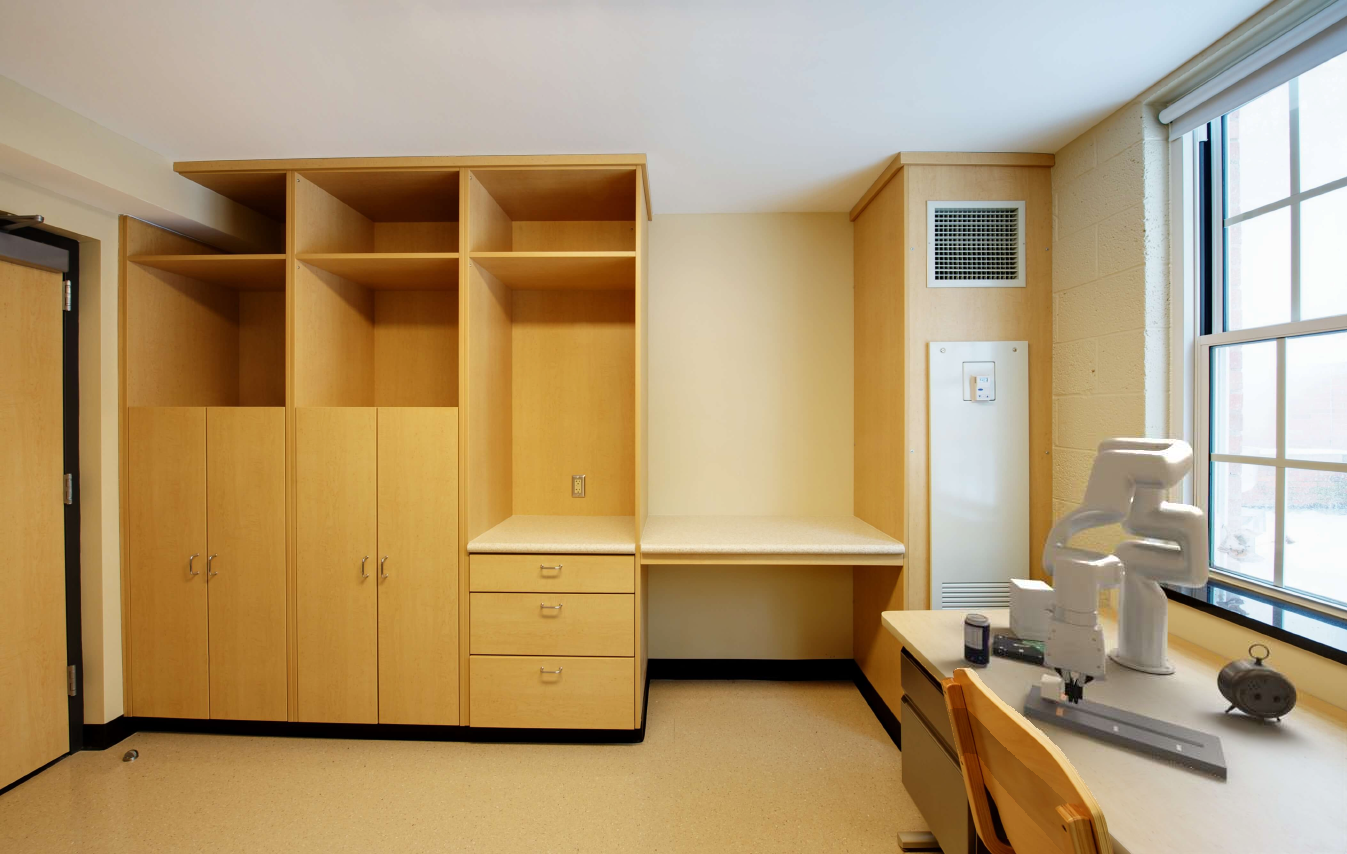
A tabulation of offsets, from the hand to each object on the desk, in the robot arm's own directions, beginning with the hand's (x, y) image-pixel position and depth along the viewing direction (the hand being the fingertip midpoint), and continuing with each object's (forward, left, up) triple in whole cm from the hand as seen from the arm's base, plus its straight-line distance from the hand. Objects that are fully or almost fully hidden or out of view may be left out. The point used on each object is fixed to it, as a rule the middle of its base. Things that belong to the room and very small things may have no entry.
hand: (1073, 700), depth 111 cm
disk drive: (-28, -12, -4) cm, 31 cm away
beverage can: (-14, -21, -4) cm, 26 cm away
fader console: (0, +7, -4) cm, 8 cm away
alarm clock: (-24, +29, -4) cm, 38 cm away
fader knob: (0, -4, -1) cm, 4 cm away
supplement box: (-44, -13, -4) cm, 46 cm away
